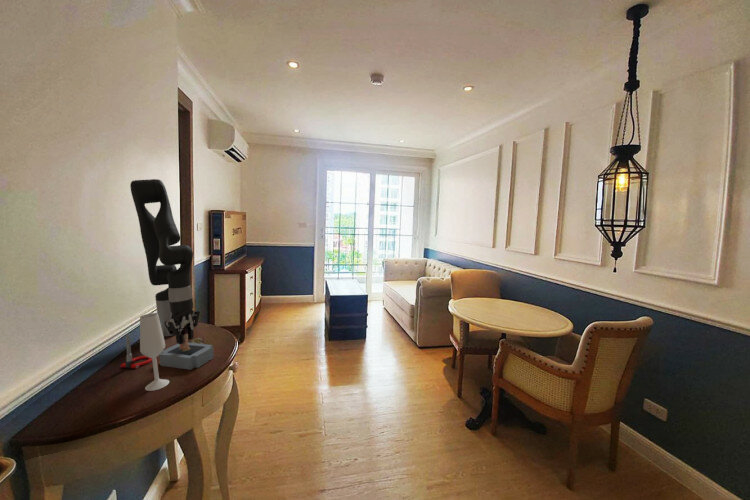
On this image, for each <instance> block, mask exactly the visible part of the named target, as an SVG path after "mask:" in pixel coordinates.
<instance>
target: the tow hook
mask: <svg viewBox="0 0 750 500" xmlns="http://www.w3.org/2000/svg"><path fill="white" fill-rule="evenodd" d="M125 337H126V339H125V344H126V345H125V346H126V355H125V356H126V361H125V362H124V363H121V365H120V368H126V369H139V367H141V366H144V365H148V364H149V363H153V362H152V358H149V357H147V356H144V355H141V356H136V357H134V358H133V354H132V349H131V348H132V347H131V345H132V344H131V339H130V334H129V333H126V335H125ZM145 359H146V360H145ZM139 360H145V361H142V362H136V361H139ZM135 362H136V363H135Z"/></svg>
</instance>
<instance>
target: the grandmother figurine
mask: <svg viewBox="0 0 750 500" xmlns="http://www.w3.org/2000/svg"><path fill="white" fill-rule="evenodd" d="M187 323H189V321H188V320H185V322H184V328H183V331H182V334H183V341H184V343H183V344H180V349H182V351H183V352H184V351H188V350H190V348H189V344H188V343H189V339H188V330H187V327H186V324H187ZM179 326H180V325H179Z"/></svg>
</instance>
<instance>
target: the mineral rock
mask: <svg viewBox="0 0 750 500" xmlns="http://www.w3.org/2000/svg"><path fill="white" fill-rule="evenodd" d="M188 343H198V344H205V341H204V340H203V339H202V338H201V337H195V338H193V339H191V340H188Z"/></svg>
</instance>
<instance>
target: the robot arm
mask: <svg viewBox="0 0 750 500" xmlns="http://www.w3.org/2000/svg"><path fill="white" fill-rule="evenodd" d="M130 193H131V196H132V200H133V204H134V207H135V211H136V215H137V219H138V224H139V230H140V236H141V242H142V245H143V250H144V253H145V257H146V263H147V264H146V265H147V271H148V272H147V273H148V279H149V282H150V284H151V286H165V285H168V287H167V288H166V289H163V290H161V291H159V292H157V293H156V294H155V297H154V298H155V305H156V313H157V314H158V316H159V320H160V324H161V328H162V333H163V337H164V338H165V337H171V336H175V341H176V344H183V343H184V341H183V334H182V331H183V328H184V322H185V320H188V321H189V323H187V324H186V327H187V330H188V341H191V340H192V339H194V337H195V336H194V329H195V327H197V326H198V323H199V318H200V313H201V312H200V311H199V310H193V309H194V300H193V299H194V297H193V289H192V285H191V278H190V274H191V268H192V264H193V259H194V258H193V257H194V252H193V248H191V247H190V246H189V245H187V244H182V245H181V244H180V245H176V244H178V243H180V241H181V235H180V233H179V232H180V231H179V229H178V227H177V226H176V225H177V224H176V223H175V220H174V216H173V211H172V208H171V207H172V206H171V203H170V200H169V196H168V192H167V188H166V186H165V184H164V183H163V181H162V180H161V179H156V178H155V179H154V178H152V179H135V180H132V181H131V182H130ZM155 203H159V204H160V206H159V209H158V211H157V214H156V215H155V216H154V215H153V214H152V213H151V212H150V211H149V210H148V208H147V207H146V206H145V205H146V204H155ZM158 261H159V262H160V263H161V265H160V264H159V265H157V264H158ZM176 265H179V267H178V268H177V267H176ZM179 325H180V326H179Z"/></svg>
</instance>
